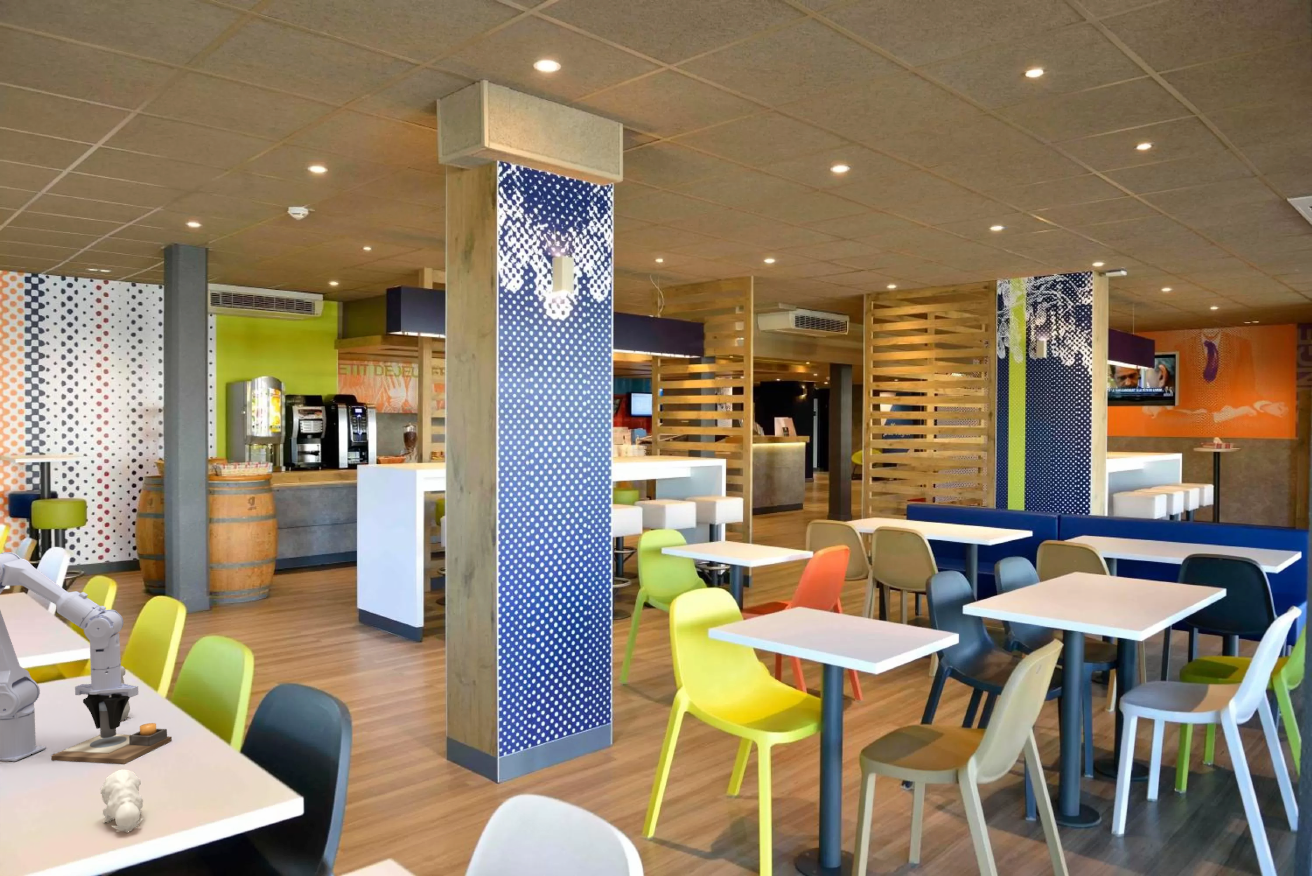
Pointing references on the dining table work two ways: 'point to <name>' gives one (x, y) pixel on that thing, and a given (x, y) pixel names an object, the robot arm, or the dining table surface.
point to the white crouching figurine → (122, 800)
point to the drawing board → (113, 748)
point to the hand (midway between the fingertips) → (107, 727)
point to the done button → (148, 729)
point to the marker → (105, 722)
